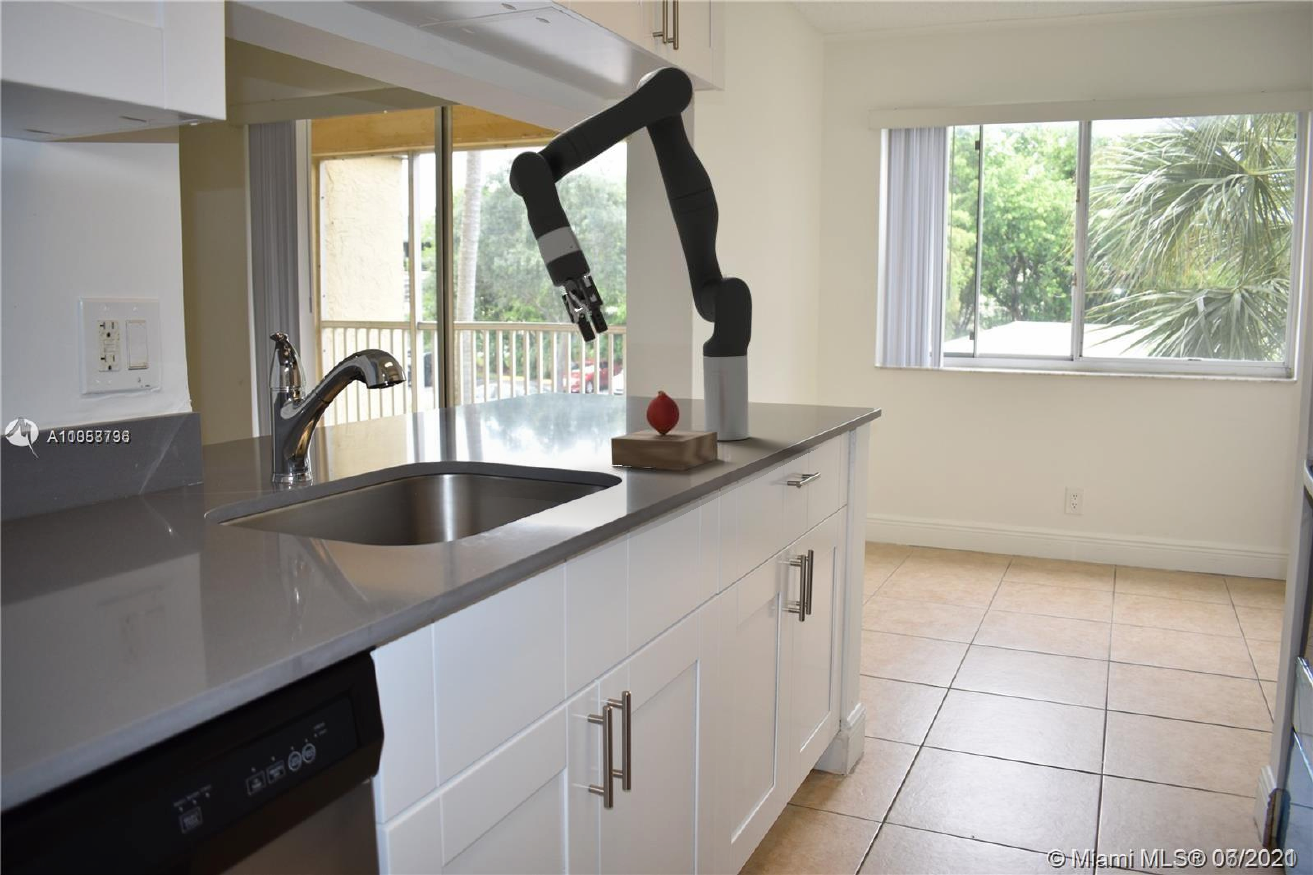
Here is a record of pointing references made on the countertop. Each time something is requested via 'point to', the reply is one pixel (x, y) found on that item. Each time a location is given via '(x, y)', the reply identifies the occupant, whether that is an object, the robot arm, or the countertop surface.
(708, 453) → the walnut base
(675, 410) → the onion
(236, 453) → the countertop surface
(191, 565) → the countertop surface
